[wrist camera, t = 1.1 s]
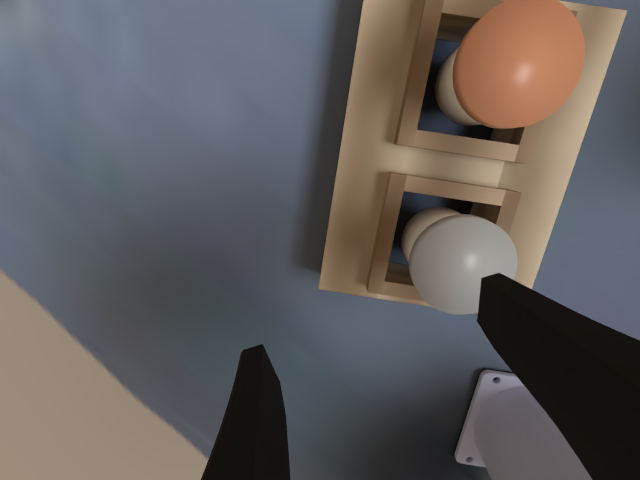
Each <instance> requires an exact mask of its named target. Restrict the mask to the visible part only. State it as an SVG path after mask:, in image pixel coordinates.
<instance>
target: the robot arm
mask: <svg viewBox="0 0 640 480" xmlns="http://www.w3.org/2000/svg"><path fill="white" fill-rule="evenodd" d="M477 322H478V323H479V325H480V327H481V328H482V330H483V332H484V333H485V335H486V337H487V338H488V340H489V341H490V343H491V344H492V346H493V347H494V349H495V350H496V351H497V353H498V354H499V355H500V357H501V358H502V359H503V360H504V361H505V363H506V364H507V365H508V366H509V368H510V369H511V370H512V371H513V373H514V374H513V373H506V372H500V371H493V370H484V371H483V372H481V374H480V376H479V379H478V382H477V386H476V389H475V392H474V395H473V398H472V401H471V404H470V407H469V410H468V413H467V417H466V420H465V423H464V426H463V429H462V432H461V435H460V438H459V441H458V445H457V448H456V451H455V455H454V456H455V458H456V461H457V462H458V463H462V464H468V465H474V466H480V467H486V469H487V471H488V473H489V475H490V477H491V480H640V340H637V339H635V338H632V337H630V336H628V335H625V334H623V333H621V332H618V331H616V330H614V329H612V328H609V327H607V326H605V325H603V324H601V323H598V322H596V321H594V320H592V319H590V318H588V317H586V316H583V315H581V314H579V313H577V312H575V311H573V310H571V309H569V308H567V307H565V306H563V305H561V304H559V303H557V302H555V301H553V300H551V299H549V298H547V297H545V296H543V295H542V294H540V293H538V292H536V291H534V290H532V289H530V288H528V287H526V286H524V285H522V284H520V283H519V282H517V281H515V280H513V279H511V278H509V277H507V276H505V275H503V274H501V273H496V274H493V275H489V276H486V277H483V278H481V287H480V297H479V308H478V318H477ZM495 377H498V378H497V379H495V380H493V379H494V378H495ZM468 457H469V458H468ZM201 480H290V468H289V453H288V439H287V425H286V414H285V408H284V402H283V396H282V391H281V385H280V381H279V379H278V377H277V375H276V373H275V370H274V368H273V366H272V364H271V362H270V359H269V357H268V355H267V353H266V350H265V348H264V346H263V344H262V345H258V346H255V347H252V348H248V349H245V350H243V351H242V353H241V356H240V360H239V365H238V369H237V373H236V377H235V381H234V385H233V388H232V392H231V395H230V399H229V402H228V405H227V408H226V412H225V415H224V418H223V421H222V424H221V427H220V430H219V433H218V436H217V438H216V441H215V444H214V447H213V449H212V452H211V455H210V458H209V460H208V463H207V466H206V468H205V470H204V473H203V476H202V478H201Z"/></svg>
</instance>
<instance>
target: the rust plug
mask: <svg viewBox="0 0 640 480" xmlns="http://www.w3.org/2000/svg"><path fill="white" fill-rule="evenodd" d="M584 59H585V42H584V36H583V32H582V29H581V27H580V24H579V22H578V20H577V19H576V17H575V15H574V14H573V13H572V12H571V11H570V10H569V9H568V8H567V7H566V6H565V5H564V4H562V3H561V2H559V1H557V0H506V1H504V2H502V3H500V4H498V5H497V6H495V7H494V8H493V9H491V10H490V11H489V12H488V13H487V14H485V15H484V16H483V17H482V18H481V19H480V20H479V21H477V22H476V23H475V24H474V25H473V26H472V28H471V29H470V30H469V31H468V32H467V34H466V35H465V37H464V38H463V40H462V42H461V44H460V46H459V47H458V48H457V49H456V50H454V51H453V52H452V53H451V54H450V55H449V56H448V57H447V58H446V59H445V61H444V62H443V64H442V65H441V67H440V69H439V72H438V74H437V78H436V83H435V95H436V100H437V103H438V106H439V107H440V109H441V111H442V112H443V114H444V115H445V116H446V117H447V118H449V119H450V120H451V121H453V122H455V123H457V124H460V125H465V126H475V125H484V126H487V127H491V128H498V129H507V128H518V127H524V126H528V125H532V124H535V123H537V122H539V121H541V120H543V119H545V118H547V117H548V116H550V115H551V114H552V113H554V112H555V111H556V110H558V109H559V108H560V107H561V106H562V105H563V104H564V102H565V101H566V100H567V99H568V98H569V96H570V95H571V93H572V92H573V90H574V89H575V87H576V85H577V83H578V81H579V78H580V76H581V73H582V69H583V65H584Z"/></svg>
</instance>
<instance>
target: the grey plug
mask: <svg viewBox="0 0 640 480" xmlns="http://www.w3.org/2000/svg"><path fill="white" fill-rule="evenodd" d="M401 246H402V251H403V254H404V256H405V258H406V259H407V261H408V263H409V273H410V276H411V279H412V282H413V284H414V286H415V288H416V289H417V291H418V293H419V294H420V296H421V297H422V298H423V299H424V301H426V302H427V303H428V304H429V305H430V306H432V307H433V308H435V309H437V310H439V311H442V312H445V313H449V314H456V315H465V314H472V313H476V312H478V308H479V297H480V287H481V278H483V277H486V276H489V275H493V274H496V273H501V274H503V275H505V276H507V277H509V278H511V279H513V280H514V278H515V276H516V272H517V265H518V257H517V252H516V248H515V246H514V243H513V242H512V240H511V238H510V237H509V235H508V234H507V233H506V232H505V231H504V230H503V229H501V228H500V227H499V226H497V225H496V224H494V223H492V222H490V221H488V220H486V219H484V218H481V217H478V216H475V215H469V214H460V213H459V212H457V211H455V210H453V209H450V208H447V207H431V208H427V209H424V210H422V211H420V212H419V213H417V214H416V215H414V216H413V217H412V218H411V219H410V220H409V222H408V223H407V224H406V226H405V228H404V230H403V233H402V238H401Z"/></svg>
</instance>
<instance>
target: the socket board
mask: <svg viewBox="0 0 640 480" xmlns="http://www.w3.org/2000/svg"><path fill="white" fill-rule="evenodd" d="M504 1H506V0H363V5H362V11H361V18H360V24H359V30H358V37H357V43H356V50H355V56H354V63H353V69H352V75H351V82H350V88H349V95H348V101H347V107H346V114H345V120H344V127H343V133H342V139H341V146H340V152H339V159H338V165H337V172H336V178H335V184H334V191H333V197H332V204H331V210H330V216H329V223H328V229H327V236H326V242H325V249H324V255H323V261H322V268H321V274H320V282H319V289H321V290H327V291H334V292H340V293H346V294H353V295H359V296H366V297H372V298H379V299H385V300H391V301H398V302H404V303H411V304H417V305H424V306H430V305H429V304H428V303H427V302H426V301H424V299H423V298H422V297H421V296H420V294H419V293H418V291H417V289H416V288H415V286H414V284H413V282H412V279H411V276H410V273H409V265H403V264H396V263H390V262H389V258H390V253H391V248H392V244H393V239H394V234H395V230H396V225H397V220H398V216H399V211H400V206H401V201H402V197H403V192H404V191H406V192H413V193H420V194H426V195H433V196H439V197H446V198H453V199H459V200H466V201H472V202H473V204H472V208H471V212H470V215H475V216H478V217H481V218H484V219H486V220H488V221H490V222H492V223H494V224H496V225H497V226H499V227H500V228H501V229H503V230H504V231H505V232H506V233H507V234H508V235H509V237H510V238H511V240H512V242H513V243H514V246H515V248H516V252H517V257H518V265H517V272H516V276H515V278H514V280H515V281H517V282H519V283H520V284H522V285H524V286H526V287H528V288H530V289H532V287H533V284H534V281H535V278H536V275H537V272H538V269H539V266H540V263H541V260H542V258H543V255H544V252H545V249H546V246H547V243H548V240H549V237H550V234H551V231H552V228H553V226H554V223H555V220H556V217H557V214H558V211H559V208H560V205H561V202H562V199H563V196H564V194H565V191H566V188H567V185H568V182H569V179H570V176H571V173H572V170H573V167H574V164H575V161H576V159H577V156H578V153H579V150H580V147H581V144H582V141H583V138H584V135H585V132H586V129H587V127H588V124H589V121H590V118H591V115H592V112H593V109H594V106H595V103H596V100H597V97H598V94H599V92H600V89H601V86H602V83H603V80H604V77H605V74H606V71H607V68H608V65H609V62H610V60H611V57H612V54H613V51H614V48H615V45H616V42H617V39H618V36H619V33H620V30H621V27H622V25H623V22H624V19H625V16H626V13H627V11H626V10H619V9H612V8H605V7H599V6H592V5H585V4H578V3H571V2H564V1H559V2H561V3H562V4H564V5H565V6H566V7H567V8H568V9H569V10H570V11H571V12H572V13H573V14H574V15H575V17H576V19H577V20H578V22H579V24H580V27H581V29H582V32H583V36H584V42H585V59H584V65H583V69H582V73H581V76H580V78H579V81H578V83H577V85H576V87H575V89H574V90H573V92H572V93H571V95H570V96H569V98H568V99H567V100H566V101H565V102H564V104H563V105H562V106H561V107H560V108H559V109H558V110H556V111H555V112H554V113H552V114H551V115H550V116H548V117H547V118H545V119H543V120H541V121H539V122H537V123H535V124H532V125H528V126H524V127H518V128H507V129H498V128H493V131H492V134H491V138H490V141H489V140H482V139H475V138H469V137H462V136H455V135H449V134H442V133H435V132H429V131H422V130H417V126H418V121H419V117H420V112H421V107H422V103H423V98H424V93H425V89H426V84H427V79H428V74H429V70H430V65H431V60H432V56H433V51H434V46H435V42H436V39H441V40H448V41H455V42H462V40H463V38H464V37H465V35H466V34H467V32H468V31H469V30H470V29H471V28H472V26H473V25H474V24H475V23H476V22H477V21H479V20H480V19H481V18H482V17H483V16H484V15H485V14H487V13H488V12H489V11H490V10H491V9H493V8H494V7H495V6H497V5H498V4H500V3H502V2H504ZM430 307H432V306H430ZM475 314H478V312H476V313H475Z"/></svg>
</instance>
